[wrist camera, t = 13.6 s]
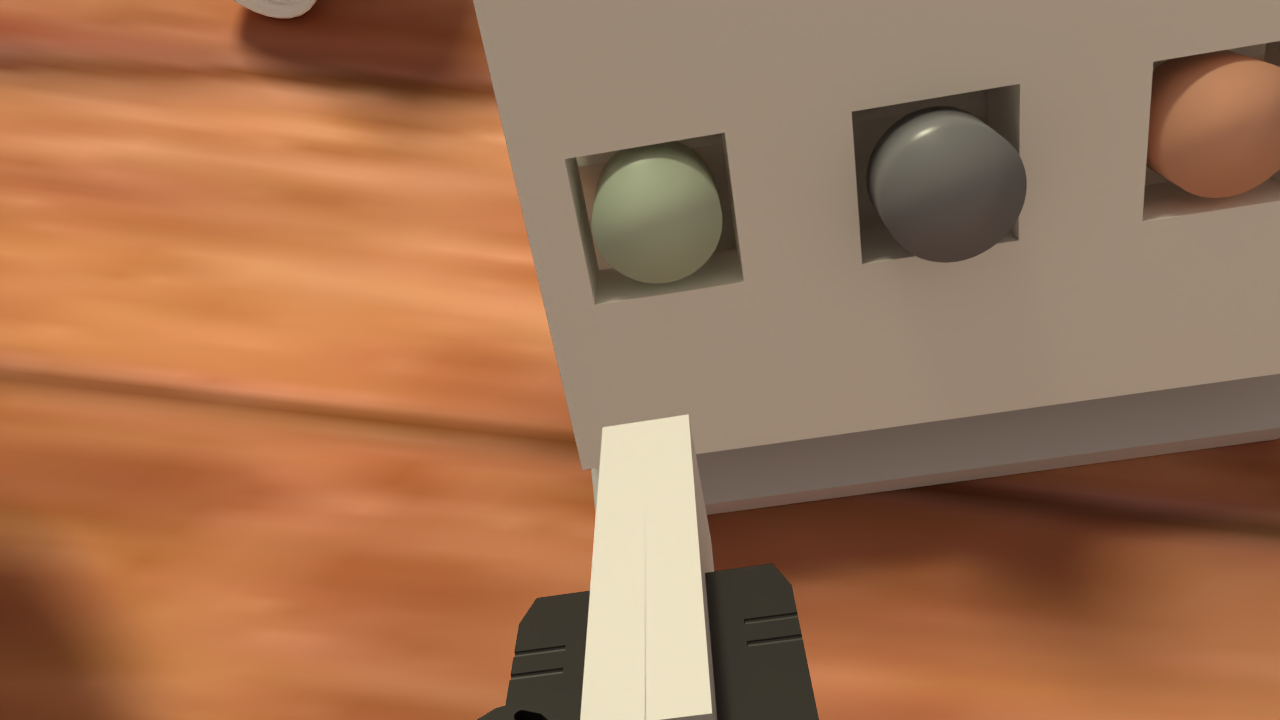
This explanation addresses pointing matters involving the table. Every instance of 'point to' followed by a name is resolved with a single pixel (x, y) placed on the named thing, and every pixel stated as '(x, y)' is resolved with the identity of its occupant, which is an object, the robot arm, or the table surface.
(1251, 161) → the terracotta button
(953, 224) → the charcoal button
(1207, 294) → the button console
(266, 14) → the spread jar
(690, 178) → the sage button
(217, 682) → the table surface
